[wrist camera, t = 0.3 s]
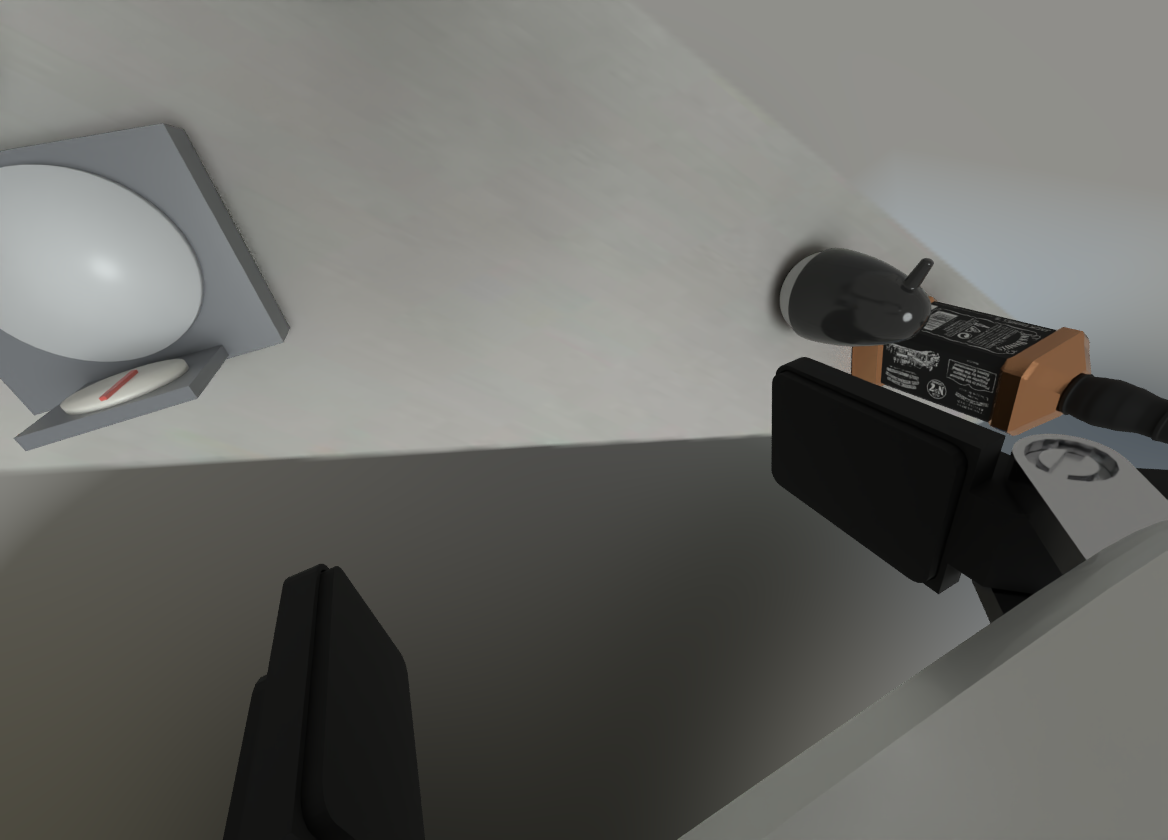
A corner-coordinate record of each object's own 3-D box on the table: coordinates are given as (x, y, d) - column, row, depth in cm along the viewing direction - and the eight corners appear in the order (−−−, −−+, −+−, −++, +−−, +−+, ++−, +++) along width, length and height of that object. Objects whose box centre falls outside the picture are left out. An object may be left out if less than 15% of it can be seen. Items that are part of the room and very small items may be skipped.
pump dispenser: (840, 239, 56) (979, 256, 44) (822, 325, 61) (942, 363, 48) (773, 245, 53) (903, 265, 40) (759, 336, 57) (871, 379, 45)
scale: (-115, 181, 27) (-392, 182, 17) (183, 129, 30) (101, 105, 21) (65, 392, 34) (-55, 480, 24) (289, 328, 37) (266, 380, 28)
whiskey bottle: (850, 380, 68) (1163, 507, 41) (852, 317, 62) (1212, 417, 36) (904, 351, 70) (1234, 454, 44) (910, 287, 64) (1291, 361, 38)
